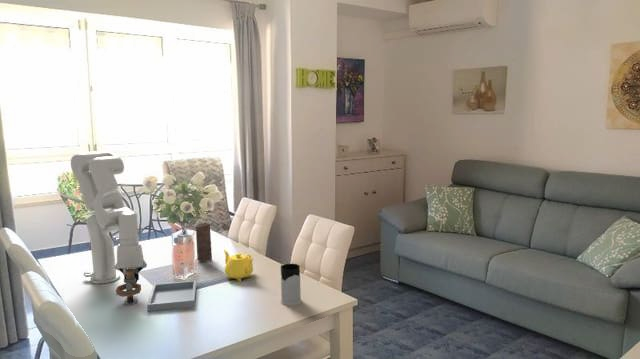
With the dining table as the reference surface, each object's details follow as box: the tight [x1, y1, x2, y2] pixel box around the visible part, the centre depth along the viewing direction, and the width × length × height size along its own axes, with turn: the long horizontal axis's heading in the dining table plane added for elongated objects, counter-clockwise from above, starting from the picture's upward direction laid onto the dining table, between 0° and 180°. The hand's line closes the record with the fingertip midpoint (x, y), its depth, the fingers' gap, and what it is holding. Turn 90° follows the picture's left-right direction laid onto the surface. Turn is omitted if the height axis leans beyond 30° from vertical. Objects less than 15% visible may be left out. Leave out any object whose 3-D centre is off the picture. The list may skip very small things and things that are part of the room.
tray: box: [146, 279, 197, 313], centre depth 201 cm, size 18×22×3 cm
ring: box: [115, 268, 142, 298], centre depth 199 cm, size 9×15×7 cm, turn 12°
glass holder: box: [280, 263, 303, 307], centre depth 198 cm, size 9×14×15 cm, turn 28°
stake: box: [123, 278, 138, 306], centre depth 196 cm, size 5×5×10 cm
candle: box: [195, 222, 213, 262], centre depth 246 cm, size 8×7×20 cm
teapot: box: [223, 249, 255, 282], centre depth 224 cm, size 20×15×12 cm
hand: (131, 281), depth 205 cm, fingers closed on ring, 2 cm apart
